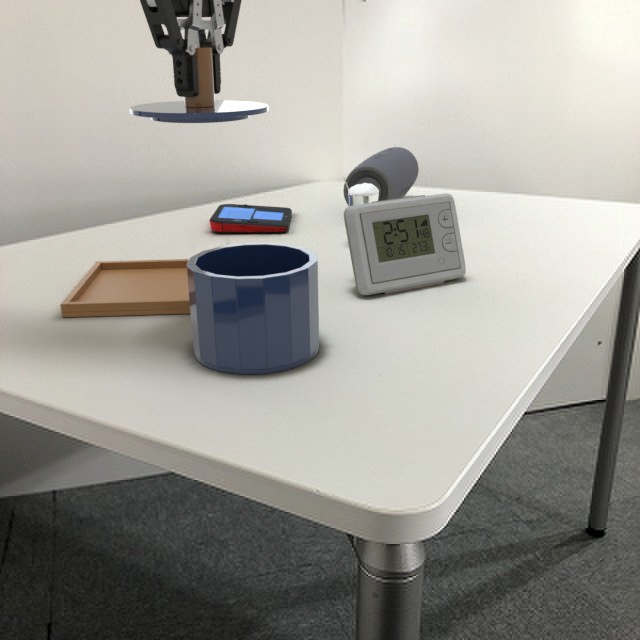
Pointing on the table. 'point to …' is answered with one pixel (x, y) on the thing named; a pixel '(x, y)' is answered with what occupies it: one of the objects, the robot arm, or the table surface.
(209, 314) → the pot
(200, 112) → the pot lid
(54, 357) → the table surface
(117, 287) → the wooden tray
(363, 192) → the milkshake
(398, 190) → the bluetooth speaker
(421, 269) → the digital clock
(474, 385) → the table surface
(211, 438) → the table surface
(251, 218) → the game console
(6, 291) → the table surface
